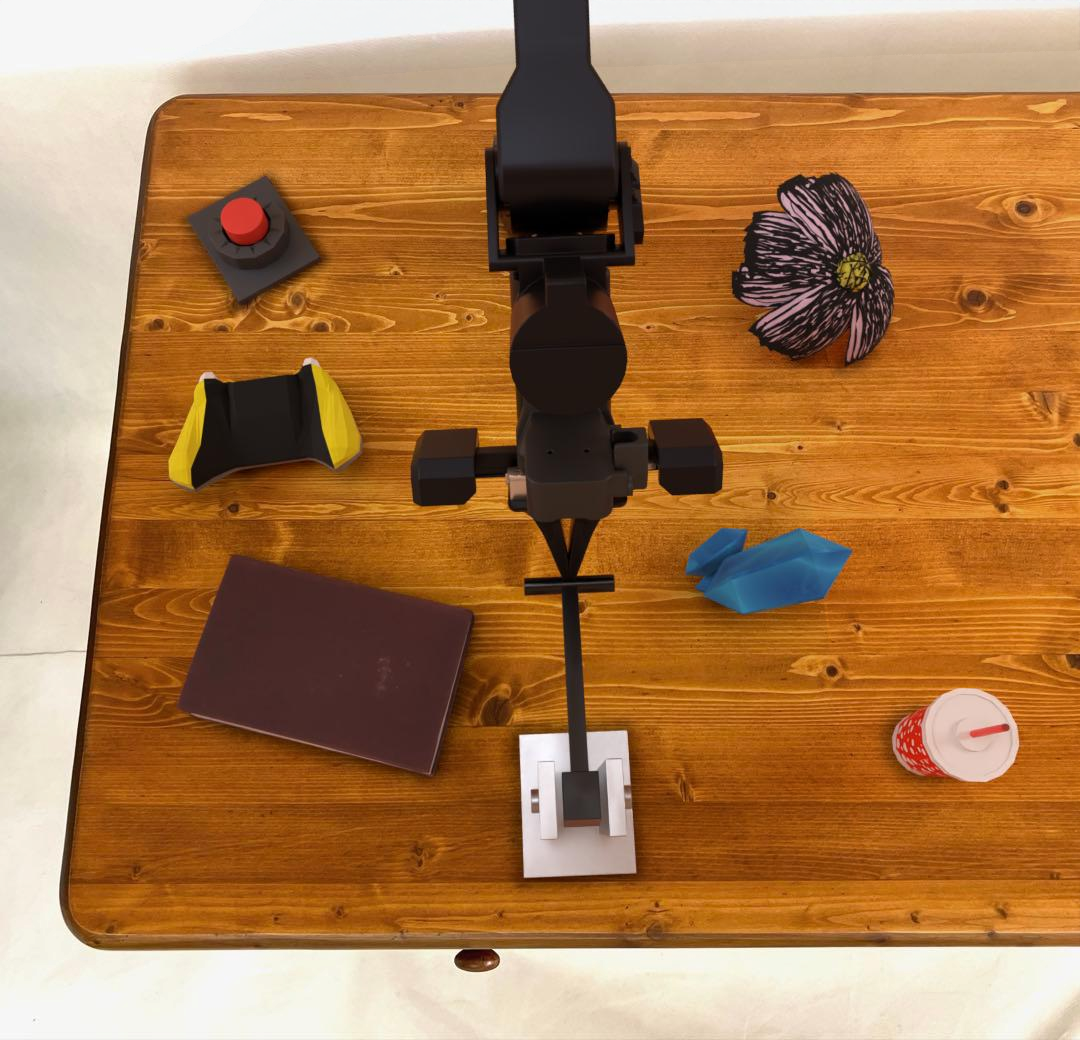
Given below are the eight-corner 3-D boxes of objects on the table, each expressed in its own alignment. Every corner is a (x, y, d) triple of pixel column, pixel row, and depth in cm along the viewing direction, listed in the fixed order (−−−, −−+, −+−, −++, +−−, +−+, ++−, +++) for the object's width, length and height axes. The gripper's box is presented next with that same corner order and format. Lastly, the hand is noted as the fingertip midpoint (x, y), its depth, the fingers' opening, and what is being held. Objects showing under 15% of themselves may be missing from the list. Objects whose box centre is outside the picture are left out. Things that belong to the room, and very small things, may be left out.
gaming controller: (371, 483, 80) (360, 372, 82) (358, 459, 74) (347, 342, 77) (187, 509, 79) (182, 397, 82) (161, 488, 74) (156, 368, 77)
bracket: (519, 735, 73) (510, 714, 58) (626, 731, 73) (644, 708, 58) (524, 877, 71) (516, 893, 55) (635, 872, 71) (656, 887, 55)
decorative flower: (802, 364, 71) (759, 163, 71) (722, 394, 82) (685, 220, 82) (958, 337, 76) (918, 149, 76) (863, 369, 87) (828, 205, 87)
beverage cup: (968, 712, 73) (1060, 689, 60) (960, 795, 72) (1053, 789, 58) (886, 694, 74) (960, 667, 61) (876, 776, 72) (949, 766, 59)
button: (219, 222, 84) (212, 210, 83) (256, 202, 85) (250, 190, 83) (238, 252, 84) (232, 241, 82) (276, 232, 84) (270, 220, 82)
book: (242, 560, 78) (229, 549, 75) (477, 616, 76) (473, 608, 73) (189, 715, 74) (173, 711, 71) (433, 778, 73) (428, 776, 70)
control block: (188, 222, 87) (178, 205, 85) (268, 179, 88) (260, 161, 86) (241, 305, 84) (232, 290, 82) (322, 261, 86) (315, 245, 83)
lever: (524, 585, 66) (523, 571, 64) (612, 582, 66) (614, 567, 64) (532, 829, 59) (531, 821, 57) (631, 824, 59) (634, 817, 57)
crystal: (669, 531, 71) (832, 479, 69) (681, 554, 79) (827, 509, 77) (699, 629, 69) (869, 579, 67) (708, 643, 77) (860, 598, 75)
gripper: (386, 409, 50) (416, 656, 58) (749, 393, 50) (733, 642, 58) (408, 341, 60) (431, 560, 67) (712, 328, 60) (702, 548, 67)
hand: (568, 577), depth 65 cm, fingers closed
